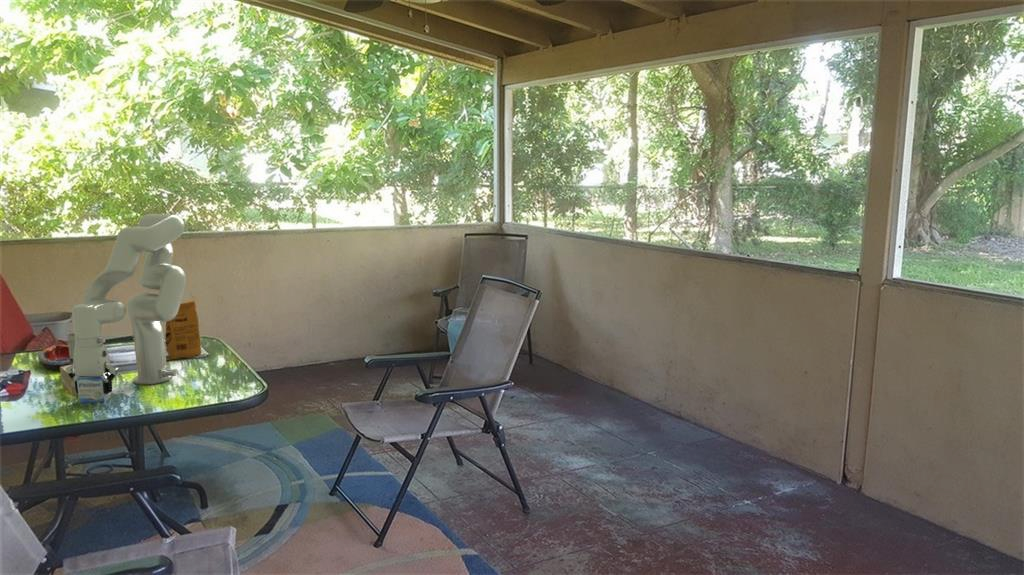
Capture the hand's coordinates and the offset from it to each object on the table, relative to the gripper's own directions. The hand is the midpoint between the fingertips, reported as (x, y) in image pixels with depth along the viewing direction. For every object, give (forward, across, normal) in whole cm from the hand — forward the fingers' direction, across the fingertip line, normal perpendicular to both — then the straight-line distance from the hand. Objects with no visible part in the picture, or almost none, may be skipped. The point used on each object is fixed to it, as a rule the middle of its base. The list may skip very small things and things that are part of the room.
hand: (94, 392), depth 231 cm
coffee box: (+3, +22, -28) cm, 35 cm away
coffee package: (+2, 0, -55) cm, 55 cm away
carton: (+3, +12, -12) cm, 17 cm away
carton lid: (-4, +12, -12) cm, 18 cm away
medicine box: (+3, 0, 0) cm, 3 cm away
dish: (+3, +42, -42) cm, 60 cm away
